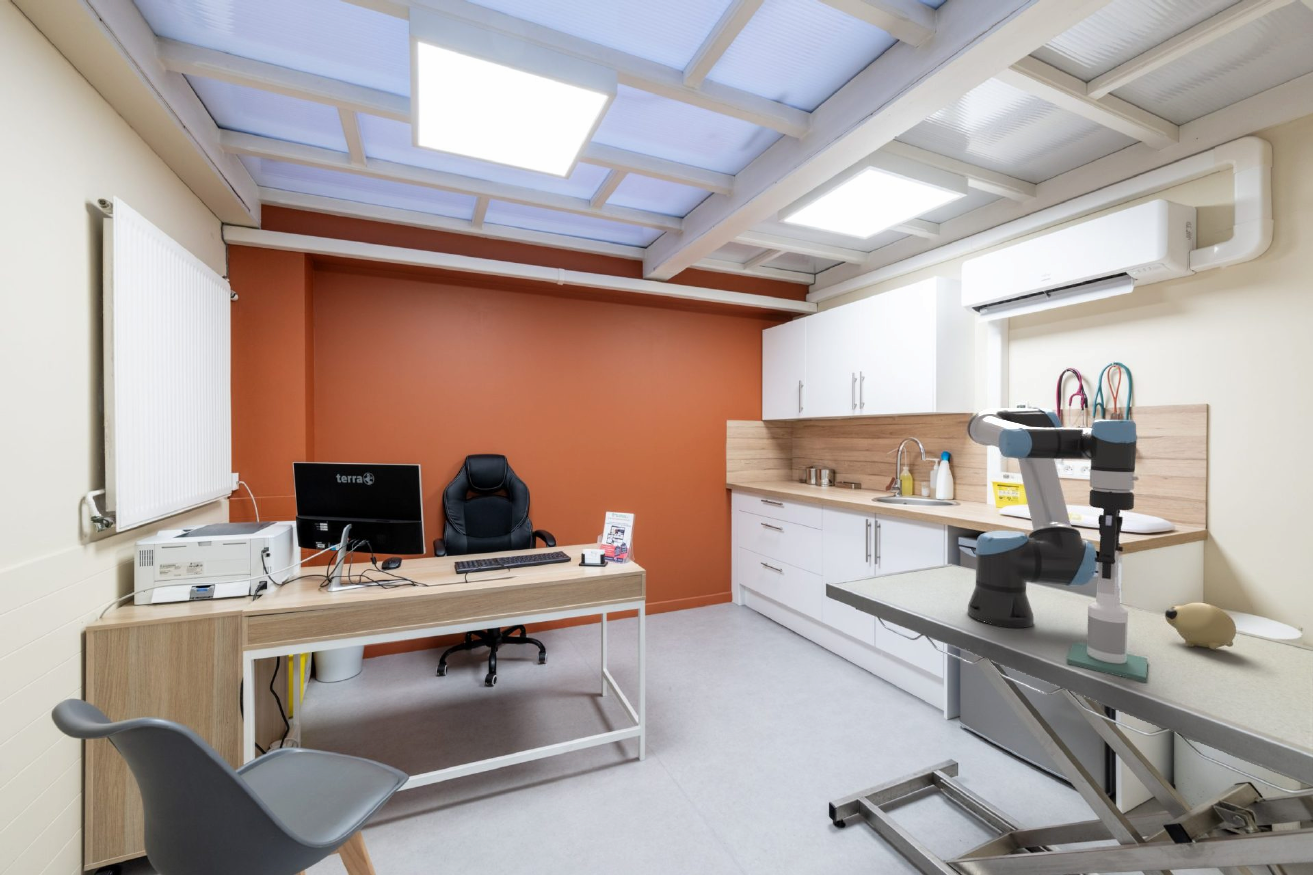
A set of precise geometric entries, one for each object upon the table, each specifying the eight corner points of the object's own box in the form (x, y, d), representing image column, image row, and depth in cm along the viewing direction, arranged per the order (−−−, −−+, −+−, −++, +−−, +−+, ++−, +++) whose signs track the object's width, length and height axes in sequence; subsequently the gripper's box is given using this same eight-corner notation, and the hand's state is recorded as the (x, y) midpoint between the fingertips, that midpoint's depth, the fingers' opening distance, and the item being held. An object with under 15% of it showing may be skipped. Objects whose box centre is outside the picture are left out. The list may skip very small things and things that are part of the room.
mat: (1066, 663, 121) (1067, 658, 121) (1073, 646, 130) (1073, 642, 130) (1146, 682, 112) (1146, 677, 112) (1147, 662, 122) (1147, 657, 122)
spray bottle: (1079, 651, 125) (1080, 572, 124) (1107, 651, 125) (1109, 572, 125) (1105, 664, 118) (1107, 581, 117) (1135, 664, 118) (1137, 580, 118)
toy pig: (1184, 635, 138) (1185, 593, 138) (1246, 654, 127) (1247, 608, 126) (1155, 638, 136) (1156, 595, 135) (1215, 658, 124) (1217, 611, 124)
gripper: (1132, 497, 109) (1128, 603, 110) (1136, 486, 127) (1132, 577, 128) (1084, 494, 114) (1080, 595, 115) (1094, 483, 132) (1091, 570, 133)
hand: (1108, 586), depth 121 cm, fingers open, 13 cm apart
